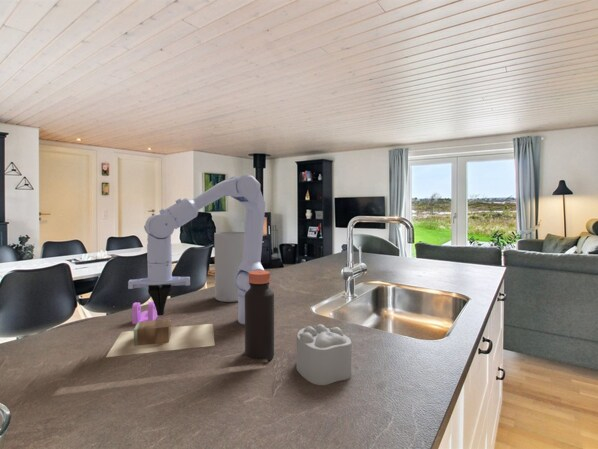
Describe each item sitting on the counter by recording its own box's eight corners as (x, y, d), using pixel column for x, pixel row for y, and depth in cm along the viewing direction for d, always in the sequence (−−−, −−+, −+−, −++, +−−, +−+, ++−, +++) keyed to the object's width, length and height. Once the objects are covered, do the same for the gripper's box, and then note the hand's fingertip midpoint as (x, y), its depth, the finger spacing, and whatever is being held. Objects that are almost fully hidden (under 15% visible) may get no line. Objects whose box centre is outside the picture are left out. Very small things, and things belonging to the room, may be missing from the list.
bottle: (250, 366, 75) (250, 276, 74) (241, 354, 81) (240, 271, 80) (278, 359, 78) (278, 273, 77) (267, 348, 84) (267, 268, 83)
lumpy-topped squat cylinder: (314, 388, 66) (314, 344, 66) (287, 360, 78) (287, 323, 77) (358, 376, 71) (358, 335, 70) (326, 352, 82) (326, 317, 82)
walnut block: (170, 319, 91) (138, 321, 89) (168, 326, 85) (133, 329, 83) (170, 333, 91) (138, 336, 89) (168, 342, 85) (134, 345, 83)
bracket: (153, 327, 99) (152, 303, 99) (132, 328, 98) (132, 304, 98) (161, 313, 112) (161, 292, 112) (143, 314, 111) (143, 293, 111)
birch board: (212, 327, 99) (212, 323, 99) (214, 349, 84) (214, 345, 84) (121, 335, 92) (121, 331, 92) (105, 361, 77) (105, 357, 77)
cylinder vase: (209, 297, 130) (208, 232, 129) (237, 292, 139) (236, 231, 137) (225, 304, 121) (225, 235, 120) (254, 298, 130) (254, 233, 128)
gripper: (190, 258, 92) (190, 307, 93) (131, 260, 88) (132, 311, 89) (189, 262, 86) (189, 315, 86) (125, 265, 82) (127, 320, 82)
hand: (160, 314), depth 87 cm, fingers closed
